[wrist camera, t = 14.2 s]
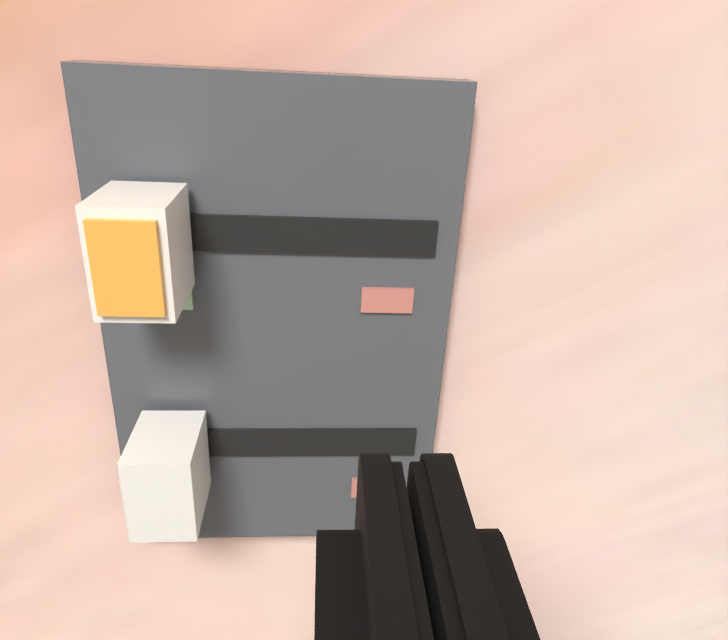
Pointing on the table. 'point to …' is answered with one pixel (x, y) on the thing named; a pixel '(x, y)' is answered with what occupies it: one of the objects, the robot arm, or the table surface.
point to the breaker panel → (287, 270)
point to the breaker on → (165, 476)
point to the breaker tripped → (137, 251)
